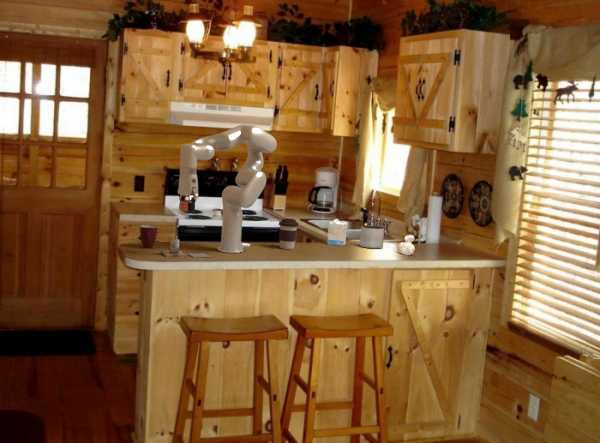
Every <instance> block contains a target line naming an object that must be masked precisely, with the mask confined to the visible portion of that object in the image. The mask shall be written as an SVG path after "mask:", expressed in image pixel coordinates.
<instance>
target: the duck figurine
mask: <svg viewBox="0 0 600 443" xmlns="http://www.w3.org/2000/svg"><path fill="white" fill-rule="evenodd" d="M404 240H405V241H403V242H400V243H399V244H398V246H397V252H398V253H399V254H400V253H401V254H400V255H404V254H406V255H405V256H411V255H413V254H414V251H415V250H416V248H415V245H414V244H412V242H414V241H415V236H414V235H413V234H408V235H405V237H404Z"/></svg>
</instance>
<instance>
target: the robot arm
mask: <svg viewBox="0 0 600 443" xmlns="http://www.w3.org/2000/svg"><path fill="white" fill-rule="evenodd" d="M245 143H246V149H247V158H246V161H245V162H244V164H243V165H242V167H241V168H240V169H239V172H238V173H237V175H236V176H235V183H236V185H237V186H236V185H227V186H226V187H225V188H224V189H223V191H222V193H221V201H222V202H221V203H222V225H221V237H220V238H221V240H220V242H221V243H220V246H218V247H217V251H218V252H221V253H231V254H238V253H239V254H240V252H241V253H243V252H244V248H251V243H246V242H243V241H242V230H243V218H244V216H243V210H242V209H244V208H245V209H249V208H251V207H252V206H253V205H254V204H255V203H256V201H258V200H257V199H258V198H259V197H260V196H261V194H262V192H263V190H264V189H265V187H266V185H267V184H266V183H267V176H266V173H265V172H263V171H262V169H263V167H264V157H263V153H264V154H271V153H273V152H275V151H276V149H277V146H278V143H277V140H276V138H275V137H274V136H273V135H272V134H270V133H268V132H267V131H265V130H264V129H262V128H260V127H258V126H256V125H250V124H239V125H237V126H235V127H233V128H230V129H228V130H226V131H222V132H220V133H216V134H212V135H208V136H204V137H200V138H198V139H195V140H194V141H191V142H190V143H183V144H181V146H180V157H179V158H180V161H179V166H180V167H179V179H178V189H177V194H178V200H179V202H180V201H181V200H187V199H186V198H188V200H189V202H190V203H188V211H189V212H195V210H196V203H197V199H198V197H199V182H198V181H199V180H198V175H197V167H198V160H200V161H201V160H202V161H209V160H212V159H213V157H214V156H215V152H222V151H223V152H225V151H228V150H231V149H233V148H235V147H238V146H240V145H242V144H245ZM188 211H187V212H188Z"/></svg>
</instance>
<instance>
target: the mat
mask: <svg viewBox="0 0 600 443" xmlns="http://www.w3.org/2000/svg"><path fill="white" fill-rule="evenodd" d="M187 254H188V256H190V257H192V259H193V258H198V259H199V258H200V259H201V257H210V258H211V256H210V255H208V254H207V253H187Z"/></svg>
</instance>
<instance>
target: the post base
mask: <svg viewBox="0 0 600 443" xmlns="http://www.w3.org/2000/svg"><path fill="white" fill-rule="evenodd" d="M160 254H161V255H163V256H164V257H166V258H189V255H188V254H189V253H186V252H184V251H183V250H181V247H180V239H177V238H171V239H170V246H169V248H168V249H167V250H160Z"/></svg>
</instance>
